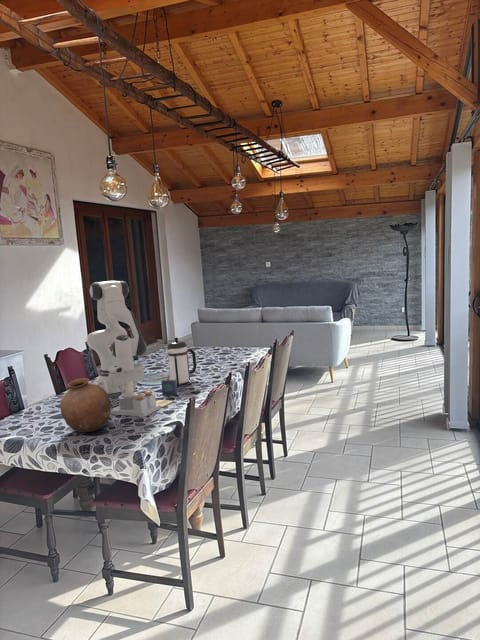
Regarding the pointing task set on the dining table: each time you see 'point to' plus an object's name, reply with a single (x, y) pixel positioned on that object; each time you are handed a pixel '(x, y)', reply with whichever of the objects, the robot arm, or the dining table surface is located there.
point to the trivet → (163, 403)
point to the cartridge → (128, 389)
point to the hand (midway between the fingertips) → (128, 391)
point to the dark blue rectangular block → (169, 387)
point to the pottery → (85, 406)
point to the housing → (136, 406)
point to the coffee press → (180, 361)
